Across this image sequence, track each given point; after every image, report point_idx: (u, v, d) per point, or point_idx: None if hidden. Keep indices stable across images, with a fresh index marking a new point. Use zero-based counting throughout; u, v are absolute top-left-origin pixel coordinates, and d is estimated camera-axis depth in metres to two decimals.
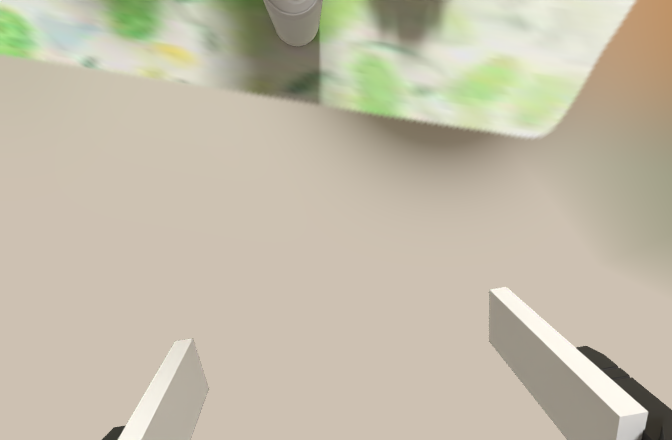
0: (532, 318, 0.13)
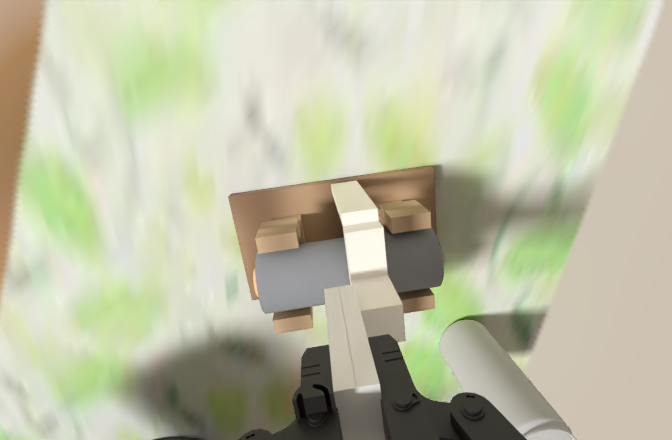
0: (353, 310, 0.15)
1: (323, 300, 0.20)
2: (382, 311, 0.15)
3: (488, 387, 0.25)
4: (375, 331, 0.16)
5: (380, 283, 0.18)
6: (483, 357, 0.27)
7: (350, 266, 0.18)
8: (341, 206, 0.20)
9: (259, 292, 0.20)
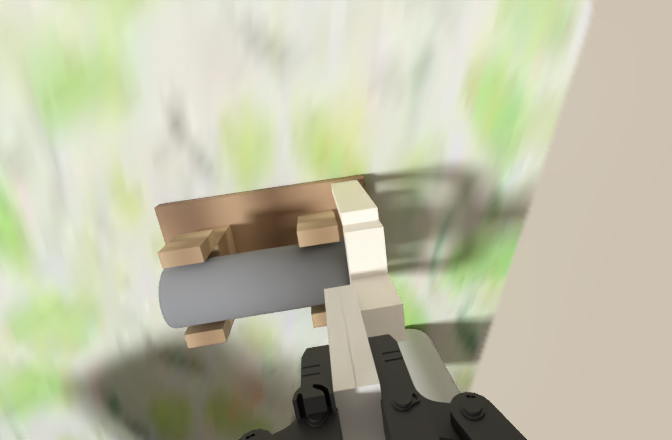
0: (353, 311, 0.15)
1: (231, 315, 0.20)
2: (382, 310, 0.15)
3: None
4: (375, 331, 0.16)
5: (380, 283, 0.17)
6: (416, 368, 0.27)
7: (350, 266, 0.18)
8: (341, 205, 0.20)
9: (162, 307, 0.19)
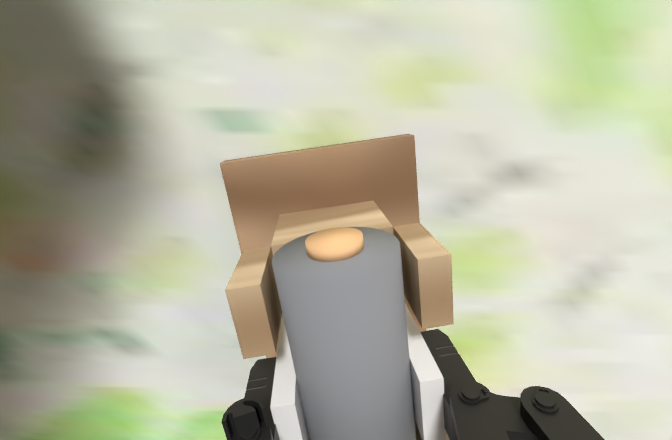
0: None
1: (322, 389, 0.10)
2: None
3: None
4: None
5: None
6: None
7: None
8: None
9: (353, 280, 0.09)
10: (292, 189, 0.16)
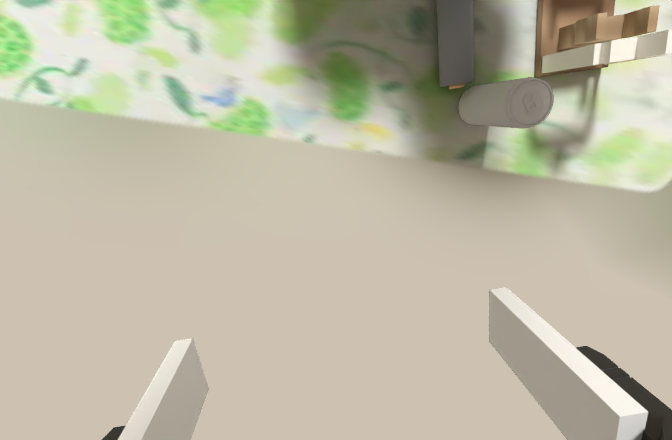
0: (532, 318, 0.13)
1: (439, 18, 0.39)
2: None
3: None
4: None
5: None
6: None
7: None
8: None
9: None
10: None
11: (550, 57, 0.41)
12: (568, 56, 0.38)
